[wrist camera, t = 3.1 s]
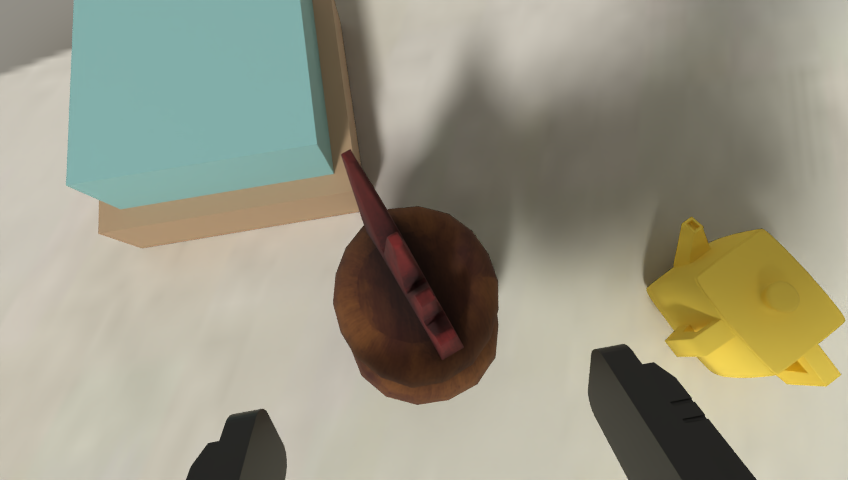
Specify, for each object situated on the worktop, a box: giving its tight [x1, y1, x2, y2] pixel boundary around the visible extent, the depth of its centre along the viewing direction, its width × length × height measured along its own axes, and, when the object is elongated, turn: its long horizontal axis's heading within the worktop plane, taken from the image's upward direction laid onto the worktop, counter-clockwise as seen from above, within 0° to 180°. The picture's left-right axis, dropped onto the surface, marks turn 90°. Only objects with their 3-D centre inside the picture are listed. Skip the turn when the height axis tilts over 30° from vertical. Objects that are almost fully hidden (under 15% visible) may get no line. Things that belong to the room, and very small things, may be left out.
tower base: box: [66, 0, 361, 248], centre depth 21 cm, size 12×12×6 cm
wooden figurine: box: [333, 149, 498, 405], centre depth 14 cm, size 7×6×15 cm
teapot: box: [647, 216, 845, 386], centre depth 19 cm, size 8×6×5 cm
